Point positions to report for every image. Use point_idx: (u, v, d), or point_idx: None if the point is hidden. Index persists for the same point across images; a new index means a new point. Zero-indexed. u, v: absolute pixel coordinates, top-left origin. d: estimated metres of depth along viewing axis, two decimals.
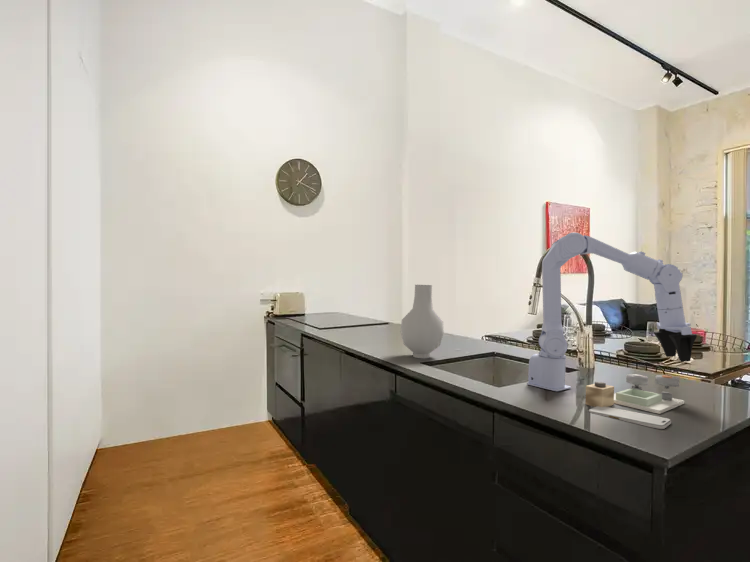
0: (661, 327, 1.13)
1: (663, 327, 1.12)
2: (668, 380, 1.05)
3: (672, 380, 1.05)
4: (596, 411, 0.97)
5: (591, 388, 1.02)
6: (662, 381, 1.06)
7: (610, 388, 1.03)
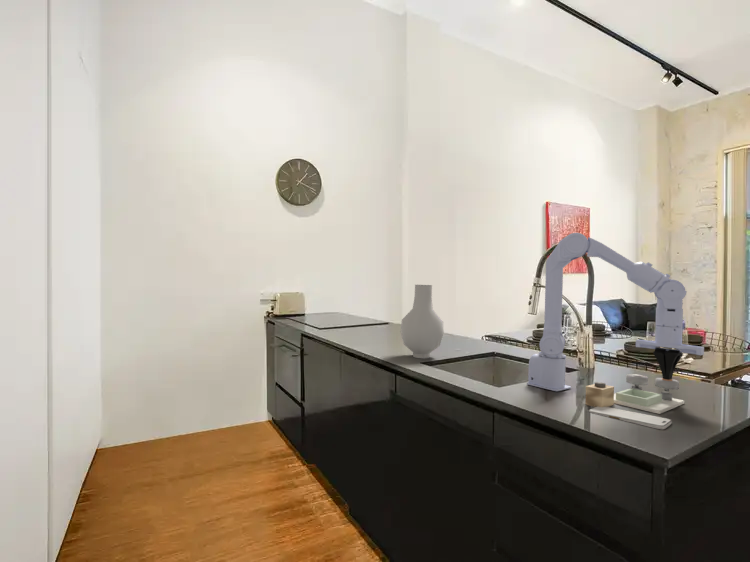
0: (666, 345, 1.06)
1: (669, 346, 1.05)
2: (668, 383, 1.05)
3: (672, 383, 1.05)
4: (596, 411, 0.97)
5: (591, 388, 1.02)
6: (662, 384, 1.06)
7: (610, 388, 1.03)
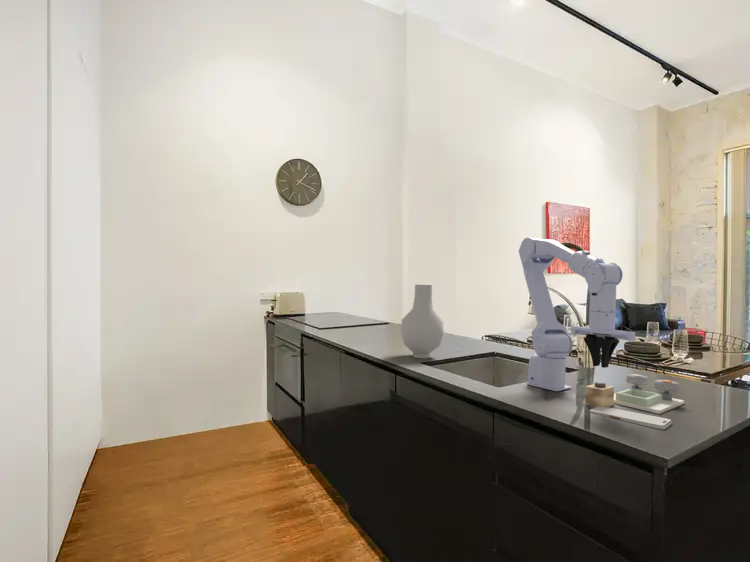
0: (598, 331, 1.02)
1: (601, 331, 1.01)
2: (668, 385, 1.05)
3: (672, 385, 1.05)
4: (597, 411, 0.96)
5: (591, 388, 1.02)
6: (662, 386, 1.06)
7: (610, 388, 1.03)
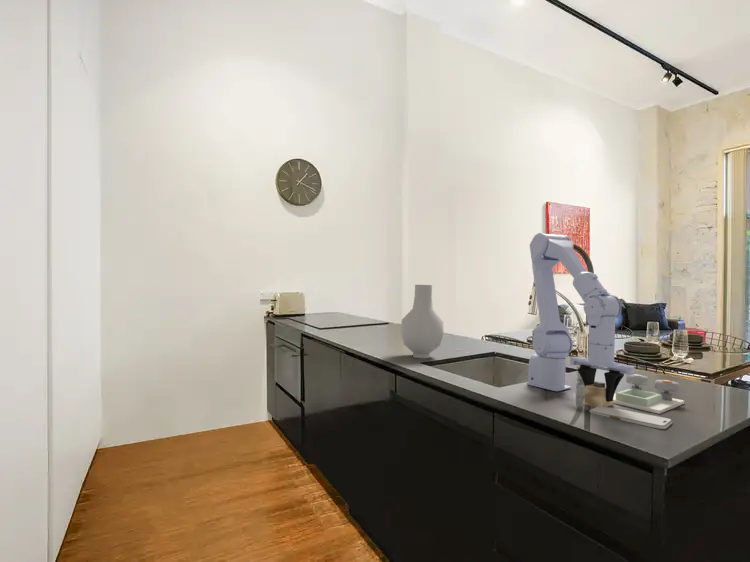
0: (597, 364, 1.02)
1: (600, 364, 1.01)
2: (668, 385, 1.05)
3: (672, 385, 1.05)
4: (597, 411, 0.96)
5: (590, 388, 1.02)
6: (662, 386, 1.06)
7: None
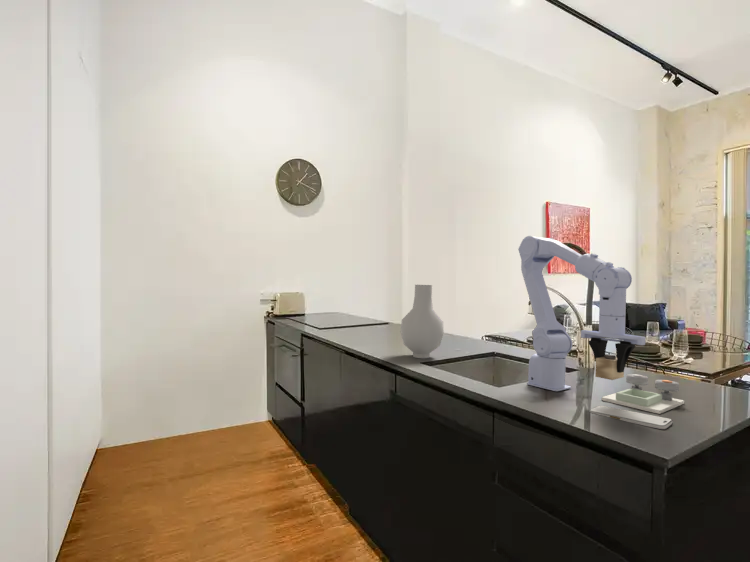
0: (608, 335, 1.02)
1: (611, 335, 1.02)
2: (668, 385, 1.05)
3: (672, 385, 1.05)
4: (597, 411, 0.96)
5: (601, 360, 1.03)
6: (662, 386, 1.06)
7: None
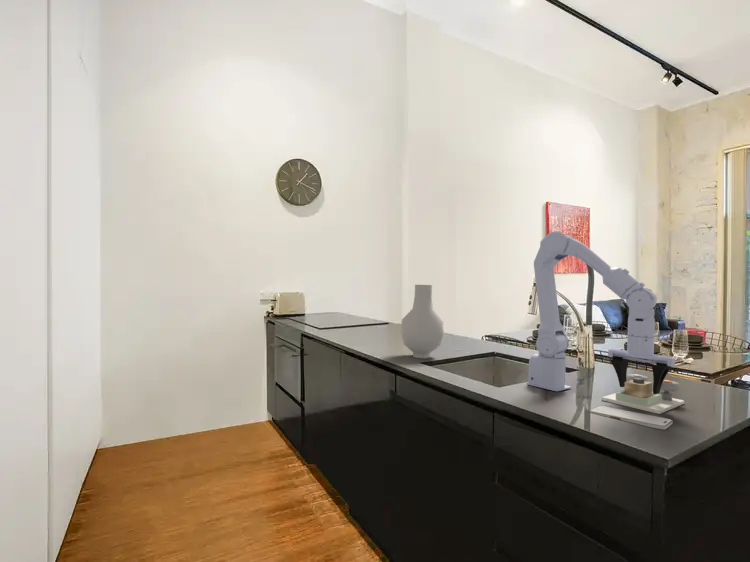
0: (637, 356, 1.04)
1: (641, 356, 1.03)
2: (668, 385, 1.05)
3: (672, 385, 1.05)
4: (597, 411, 0.96)
5: (630, 384, 1.04)
6: (662, 386, 1.06)
7: (649, 384, 1.05)
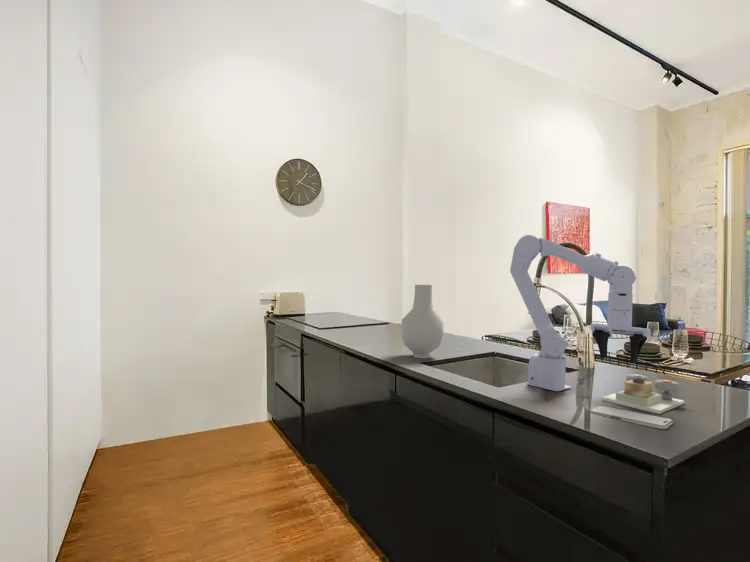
0: (616, 328, 1.12)
1: (619, 328, 1.11)
2: (668, 385, 1.05)
3: (672, 385, 1.05)
4: (597, 411, 0.96)
5: (630, 384, 1.04)
6: (662, 386, 1.06)
7: (649, 384, 1.05)
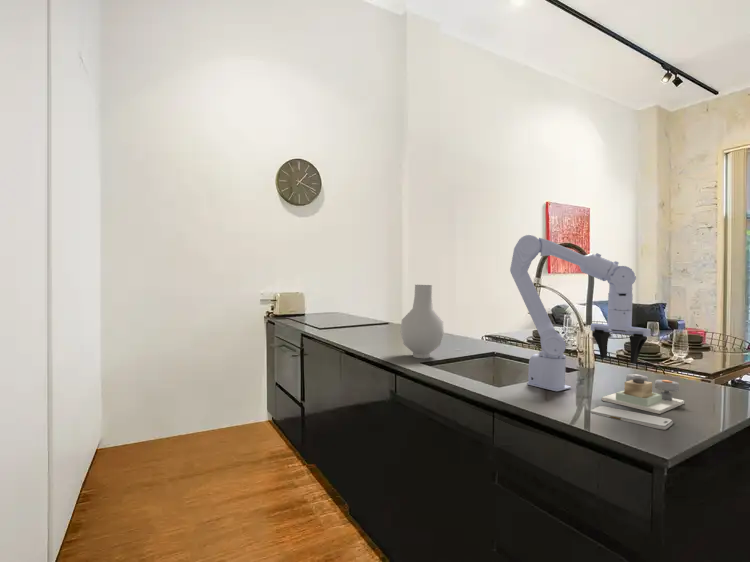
0: (616, 328, 1.12)
1: (619, 328, 1.11)
2: (668, 385, 1.05)
3: (672, 385, 1.05)
4: (598, 411, 0.96)
5: (630, 384, 1.04)
6: (662, 386, 1.06)
7: (649, 384, 1.05)
